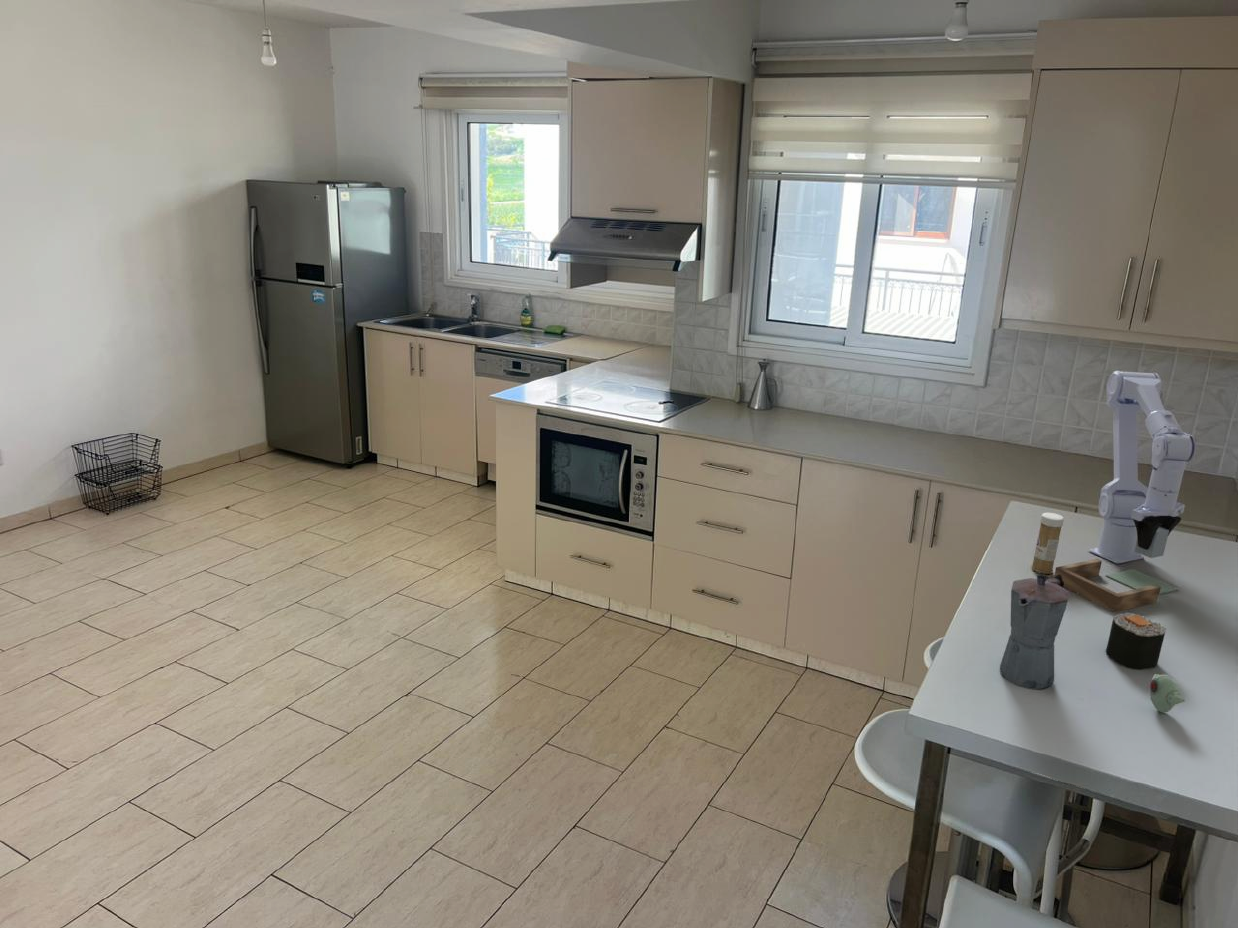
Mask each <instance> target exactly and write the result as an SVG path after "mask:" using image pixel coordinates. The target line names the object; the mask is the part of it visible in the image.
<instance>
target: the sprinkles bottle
mask: <svg viewBox="0 0 1238 928" xmlns="http://www.w3.org/2000/svg"><path fill="white" fill-rule="evenodd" d="M1064 520H1065V519H1064V517H1063V516H1062V515H1060V514H1058V513H1055V512H1043V513H1042V514H1041V516H1040V527H1039V532H1038V536H1037V541H1036V545H1035V549H1034V556H1033V560H1032V565H1031V569H1032V570H1033V571H1034V572H1035V573H1038V574H1041V575H1045V574H1046V575H1049V574H1050V575H1051V574H1053V571H1054V569H1053V568H1054V564H1055V560H1056V557H1057V551H1058V547H1059V542H1060V536H1061V531H1062V527H1063V525H1064Z"/></svg>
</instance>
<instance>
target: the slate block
mask: <svg viewBox="0 0 1238 928" xmlns="http://www.w3.org/2000/svg"><path fill="white" fill-rule="evenodd" d="M1168 533H1169V530H1168V529H1165V528H1162V527H1159V528H1158V530H1157V531H1156V533H1155V535H1154V537H1153V540H1152V543H1151V545H1150V547H1149V549H1148V550H1145V549H1143V548H1141V547H1138V538H1137V542H1136V546H1135V550H1134V551H1135V552H1137V553H1140V554H1141V555H1143V556H1144V557H1147V558H1150V559H1153V558H1159V557H1164V553H1165V549H1166V545H1167V541H1168V537H1169V536H1168Z"/></svg>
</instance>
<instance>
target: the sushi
mask: <svg viewBox="0 0 1238 928" xmlns="http://www.w3.org/2000/svg"><path fill="white" fill-rule="evenodd" d="M1151 620H1152V619H1151V618H1145V616H1144V615H1142V616H1141V615H1140V614H1138V613H1137V614H1135V613H1133V612H1125V613H1118V614H1116V615H1115V616H1113V617H1112V622H1111V626H1110V633H1109V637H1108V641H1107V644H1106V649H1105V653H1106V656H1108V657H1109V658H1110V659H1112V660H1113V661H1115V663H1117V664H1118V665H1120V666H1123V667H1125V668H1129V669H1131V670H1132V669H1133V670H1149V669H1153V668H1156V667H1157V666H1158V662H1159V658H1160V655H1161V652H1162V646H1163V644H1164V643H1163V642H1164V639H1165V634H1166V630H1167V628H1166V627H1165V626H1163V625H1161V622H1156V621H1151Z"/></svg>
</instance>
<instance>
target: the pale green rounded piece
mask: <svg viewBox="0 0 1238 928" xmlns="http://www.w3.org/2000/svg"><path fill="white" fill-rule="evenodd" d="M1150 681H1151V682H1150V684H1149V696H1150V697H1149V698H1150V701H1151V702H1152V704H1153V706H1154V708H1155V709H1156V710H1157V711H1158V712H1160V713H1164V714H1165V713H1168V712H1170V711H1171V710H1172V709H1173V708H1174V707H1175V706H1177V705H1179V704H1181V703H1184V702H1186V700H1185V698H1184V697H1183V695H1182V693H1181V690H1180V687H1179V685H1178V683H1177V681H1176V680H1175V679H1174V678H1172V677H1171V676H1169V675H1168V674H1157V673H1155V674H1154V675H1153V676H1152V678H1151V680H1150Z"/></svg>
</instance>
